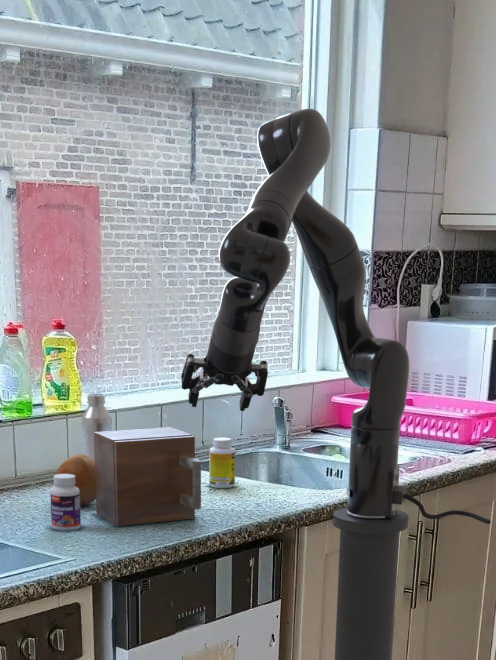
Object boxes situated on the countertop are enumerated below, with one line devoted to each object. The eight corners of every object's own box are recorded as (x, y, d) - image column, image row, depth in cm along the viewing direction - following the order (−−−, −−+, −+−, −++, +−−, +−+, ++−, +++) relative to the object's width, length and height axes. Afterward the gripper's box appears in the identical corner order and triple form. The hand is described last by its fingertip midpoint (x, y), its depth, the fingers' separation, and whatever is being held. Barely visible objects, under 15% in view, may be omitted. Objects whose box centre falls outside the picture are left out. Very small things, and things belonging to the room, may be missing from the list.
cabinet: (192, 517, 233) (192, 434, 227) (115, 525, 226) (113, 440, 220) (171, 507, 241) (170, 427, 235) (96, 514, 234) (93, 432, 228)
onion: (56, 499, 246) (54, 450, 243) (105, 499, 247) (103, 450, 244) (53, 510, 237) (51, 459, 234) (104, 509, 238) (102, 459, 235)
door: (210, 525, 226) (210, 442, 220) (132, 534, 219) (130, 447, 213) (192, 517, 233) (192, 435, 227) (116, 525, 226) (113, 441, 220)
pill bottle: (47, 530, 222) (45, 477, 218) (57, 523, 227) (54, 472, 223) (76, 531, 221) (74, 479, 217) (84, 525, 226) (82, 473, 222)
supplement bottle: (235, 488, 259) (235, 441, 255) (209, 488, 259) (209, 440, 255) (234, 483, 264) (235, 436, 260) (209, 483, 264) (209, 436, 260)
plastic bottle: (84, 494, 252) (80, 396, 244) (83, 487, 258) (79, 392, 251) (115, 493, 253) (112, 396, 245) (113, 487, 259) (110, 392, 252)
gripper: (275, 324, 199) (255, 392, 212) (190, 315, 196) (176, 385, 210) (278, 358, 195) (258, 425, 209) (192, 350, 192) (178, 418, 206)
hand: (217, 405), depth 209 cm, fingers open, 8 cm apart
